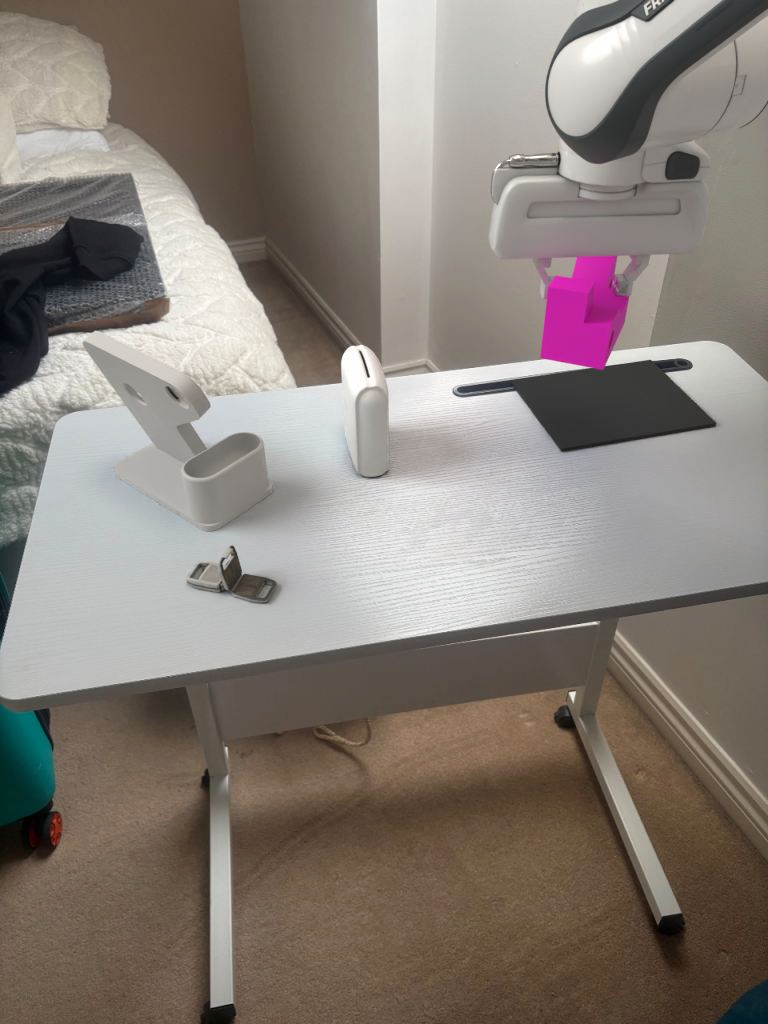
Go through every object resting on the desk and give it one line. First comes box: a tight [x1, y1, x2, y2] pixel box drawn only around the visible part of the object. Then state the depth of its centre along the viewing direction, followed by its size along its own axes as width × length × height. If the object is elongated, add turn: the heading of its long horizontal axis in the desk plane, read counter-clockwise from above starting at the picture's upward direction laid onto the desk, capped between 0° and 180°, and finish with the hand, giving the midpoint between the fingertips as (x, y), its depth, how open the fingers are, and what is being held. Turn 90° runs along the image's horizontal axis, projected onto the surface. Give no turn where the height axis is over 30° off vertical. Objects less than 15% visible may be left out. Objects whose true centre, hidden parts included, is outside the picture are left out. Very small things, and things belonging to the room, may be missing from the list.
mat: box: [510, 359, 717, 453], centre depth 103 cm, size 20×16×1 cm
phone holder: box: [82, 330, 275, 532], centre depth 86 cm, size 17×10×18 cm, turn 51°
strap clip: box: [185, 545, 278, 603], centre depth 78 cm, size 8×3×4 cm, turn 72°
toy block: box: [539, 256, 630, 370], centre depth 84 cm, size 15×6×8 cm, turn 156°
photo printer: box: [340, 344, 390, 478], centre depth 92 cm, size 10×4×12 cm, turn 11°
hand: (585, 295), depth 84 cm, fingers closed on toy block, 6 cm apart
